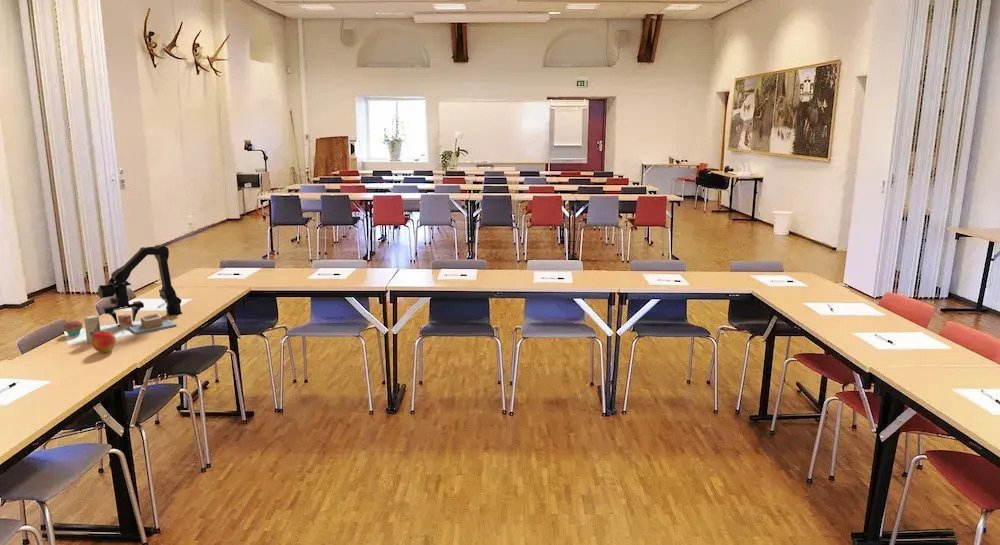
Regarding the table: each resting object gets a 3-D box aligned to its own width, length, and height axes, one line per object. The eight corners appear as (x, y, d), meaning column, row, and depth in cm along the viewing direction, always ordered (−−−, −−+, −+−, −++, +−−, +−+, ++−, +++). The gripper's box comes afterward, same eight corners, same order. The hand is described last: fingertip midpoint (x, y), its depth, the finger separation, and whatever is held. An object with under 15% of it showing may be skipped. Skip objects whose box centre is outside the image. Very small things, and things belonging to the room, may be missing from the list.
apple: (105, 355, 307) (102, 335, 304) (88, 354, 308) (85, 334, 306) (121, 349, 316) (118, 329, 314) (104, 347, 318) (101, 327, 315)
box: (91, 344, 323) (87, 318, 320) (86, 342, 325) (83, 317, 323) (102, 341, 327) (99, 316, 325) (97, 339, 330) (94, 314, 327)
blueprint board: (168, 320, 361) (166, 310, 360) (176, 326, 351) (175, 315, 350) (127, 328, 348) (126, 317, 346) (135, 334, 338) (133, 323, 336)
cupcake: (74, 338, 332) (70, 315, 330) (60, 337, 334) (56, 314, 331) (87, 332, 341) (84, 310, 338) (73, 331, 342) (70, 309, 340)
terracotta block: (129, 322, 358) (128, 314, 356) (132, 324, 354) (130, 316, 353) (119, 324, 354) (117, 315, 353) (121, 326, 351) (120, 317, 350)
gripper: (136, 288, 362) (140, 316, 366) (97, 294, 350) (101, 323, 353) (142, 292, 354) (146, 320, 358) (103, 298, 342) (107, 327, 345)
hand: (125, 322), depth 354 cm, fingers open, 8 cm apart
